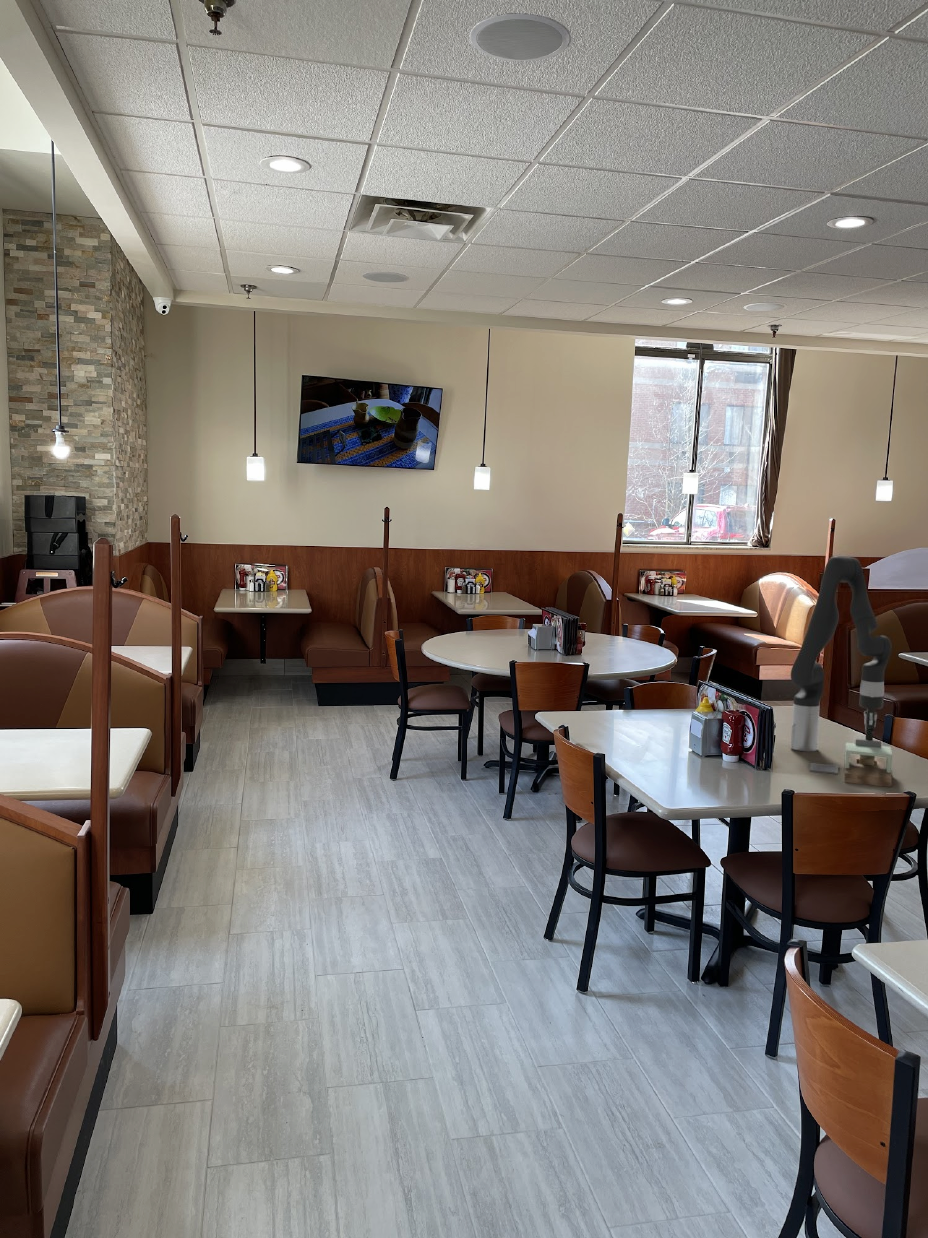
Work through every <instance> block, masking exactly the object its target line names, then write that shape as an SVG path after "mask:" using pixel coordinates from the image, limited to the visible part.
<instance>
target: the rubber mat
mask: <svg viewBox="0 0 928 1238" xmlns="http://www.w3.org/2000/svg"><path fill="white" fill-rule="evenodd" d="M809 772H813V773H823V774H829V775H830V774H831V775H832V774H833V775H839V765H834V764H825V763H824V764H823V763H815V762H810V768H809Z"/></svg>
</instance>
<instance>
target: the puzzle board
mask: <svg viewBox="0 0 928 1238" xmlns="http://www.w3.org/2000/svg"><path fill="white" fill-rule="evenodd" d="M859 761H860V755H856V754H850V760H849V768H845V758H844V761H843V763H844V767H843V768H844V771H843V772H844V783H850V784H858V785H867V786H876V787H887V788H891V787H892V772H891V773H887V770H886V764H885V763H886V757H875V760H874V766H873V765H863V764H859Z"/></svg>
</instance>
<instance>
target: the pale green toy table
mask: <svg viewBox="0 0 928 1238" xmlns="http://www.w3.org/2000/svg"><path fill="white" fill-rule="evenodd" d="M850 755H858V756H860V755H868V756H875V757H877V758H885V759H886V763H885V764H886V770H887V773H891V774H892V762H893V753H892V747H891V746H887V745H886V746H885V745H882V741H881V740H874V739H873V740H865V739H864V738H862V739H861V738H855V743H854V742H845V754H844V759H845V768H849V760H850Z"/></svg>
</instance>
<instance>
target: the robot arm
mask: <svg viewBox="0 0 928 1238" xmlns="http://www.w3.org/2000/svg"><path fill="white" fill-rule="evenodd" d="M840 583H847V584H848V586H849V587H850V590H851V593H852V598H851V601H850V607H849V609H850V610H849V613H850V616H851V619H852V622H853V624H854V627H855V629H856V641H857V642H856V643H857V645H856V646H857V650H858V652H859V653H860V654H861V655H862V656H864V657H868V658H869V657H873V658H872V660H871V661H869V662H866V663H864V664H863V665H862V666H861V679H860V680H861V681H860V685H859V686H860V687H859V700H858V701H859V703H858V706H859V707H861V708H864V709H866V710H865V711H864V712H863V717H864V731H865V738H864V740H874V733H875V728H876V726H877V725H876V724H877V719H878V712H876V710H880V709H883V708H884V698H885V685H884V684H885V670H886V667H887V664H888V661H889V659H890V657H891V653H892V649H893V648H892V645H893V644H892V641H891V640H890V638H889V637H888V636H887V635H871V633H873V632H875V631H876V630H877V629H878V627H879V626H878V625H879V623H878V621H877V618H876V616H875V612H874V611H873V609H872V606H871V603H870V600H869V596H868V591H867V585H866V580H865V574H864V570H863V567H862V564H861V562H860V561H859V560H858V558H856V557H853V556H852V557H851V556H841V555H835V556H831V557H830V558H829V559H828V561H827V562H826V565H825V568H824V571H823V575H822V581H821V583H820V584H821V585H820V590H819V593H818V597H817V600H816V603H815V606H814V609H813V611H812V614H811V617H810V620H809V624H808V625H807V626H808V627H807V630H806V633H805V636H804V638H803V641H802V644H801V648H800V650H799V652H798V654H797V657H796V659H795V661H794V662H793V665H792V666H791V670H790V679H791V682H792V684H793V685H794V686H796V687H798V688H800V689H799V691H798V692H797V693H796V694H795V695H794V696H793V707H792V723H791V738H790V740H791V741H790V749H791V750H795V751H800V752H816V751H818V740H819V737H818V736H819V725H820V724H819V722H820V721H819V719H820V705H821V700H822V698H823V695H824V694H823V693H824V685H825V670H824V668H823V666H822V665H821V664H820V663H819V662H817V659H818V656H819V655H820V653H821V652H822V651H823V649H824V648H825V647H826V646H827V645H828V644H829V642H830V641H831V639H832V638H833V636H834V635H835V633H836V629H837V626H838V624H839V621H840V613H839V612H840V611H839V609H838V605H837V600H836V594H837V590H838V587H839V584H840Z"/></svg>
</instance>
